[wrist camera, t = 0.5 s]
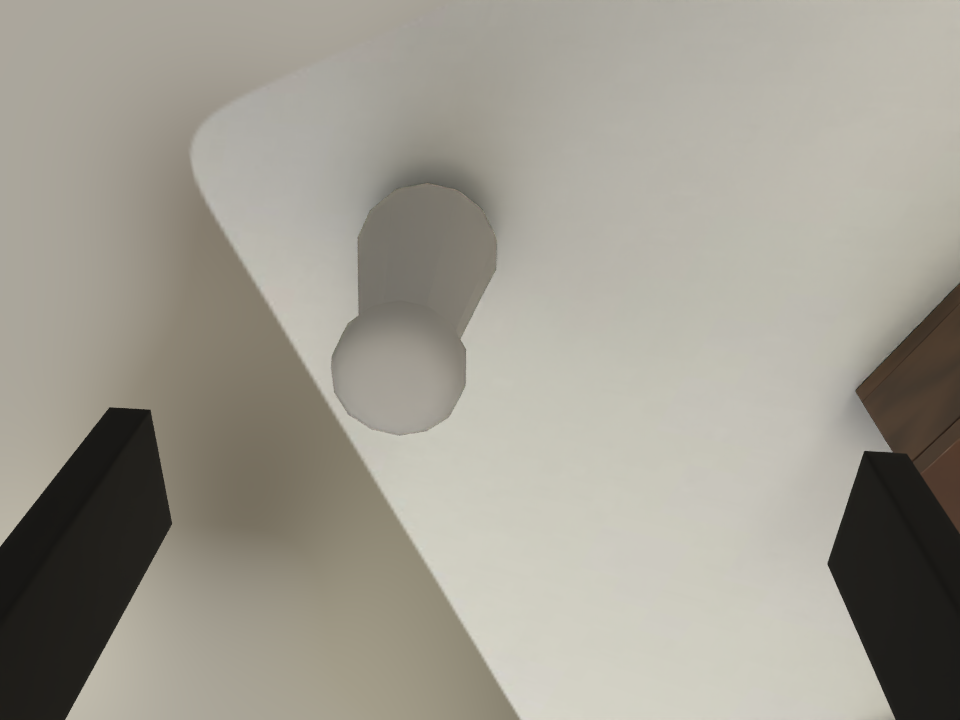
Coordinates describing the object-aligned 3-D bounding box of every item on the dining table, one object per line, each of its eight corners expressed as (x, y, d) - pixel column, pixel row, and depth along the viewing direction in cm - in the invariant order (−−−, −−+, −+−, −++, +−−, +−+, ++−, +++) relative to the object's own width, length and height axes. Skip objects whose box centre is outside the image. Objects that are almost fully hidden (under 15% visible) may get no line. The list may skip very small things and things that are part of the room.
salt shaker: (387, 299, 39) (331, 477, 28) (351, 182, 36) (271, 327, 25) (511, 277, 38) (505, 451, 27) (484, 154, 35) (463, 292, 24)
